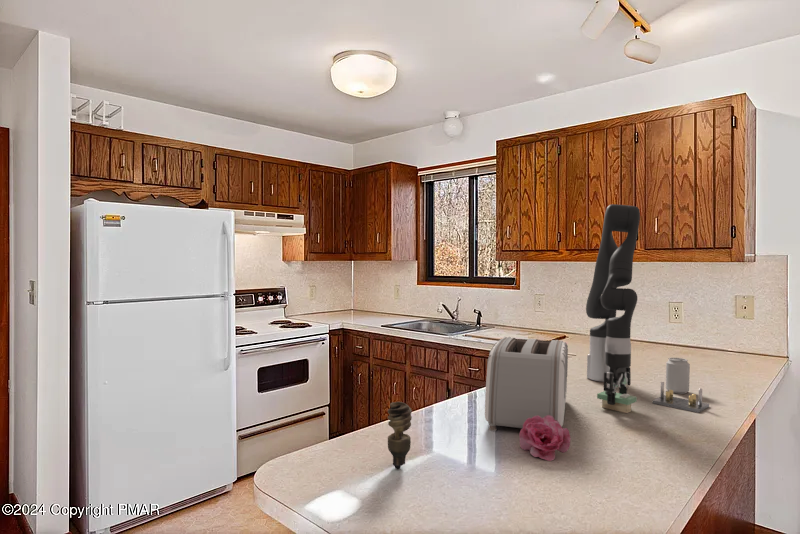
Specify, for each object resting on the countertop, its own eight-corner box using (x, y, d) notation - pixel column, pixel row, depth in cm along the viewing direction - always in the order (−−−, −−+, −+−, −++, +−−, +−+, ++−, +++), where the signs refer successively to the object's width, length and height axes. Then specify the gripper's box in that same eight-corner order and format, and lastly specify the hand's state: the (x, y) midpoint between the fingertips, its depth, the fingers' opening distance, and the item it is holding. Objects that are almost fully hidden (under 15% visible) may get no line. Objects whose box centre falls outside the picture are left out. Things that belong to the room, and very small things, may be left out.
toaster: (567, 397, 180) (568, 332, 179) (563, 440, 137) (564, 356, 137) (504, 391, 187) (505, 329, 186) (482, 431, 144) (483, 350, 144)
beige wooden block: (602, 407, 168) (602, 398, 168) (606, 405, 170) (606, 396, 170) (627, 413, 162) (627, 403, 162) (631, 411, 164) (631, 401, 164)
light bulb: (386, 463, 121) (386, 398, 120) (409, 462, 121) (410, 398, 121) (387, 473, 115) (388, 405, 115) (412, 472, 116) (413, 405, 115)
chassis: (652, 403, 173) (652, 383, 173) (663, 397, 180) (664, 379, 180) (699, 412, 163) (699, 392, 163) (709, 406, 170) (709, 386, 170)
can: (692, 394, 185) (692, 361, 185) (669, 393, 186) (669, 360, 186) (685, 389, 192) (685, 357, 192) (663, 388, 194) (663, 356, 193)
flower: (556, 477, 122) (534, 444, 120) (529, 464, 131) (508, 434, 129) (585, 443, 126) (565, 411, 124) (557, 433, 135) (538, 403, 133)
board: (597, 398, 167) (597, 391, 167) (605, 395, 172) (605, 388, 172) (628, 405, 160) (628, 397, 160) (636, 401, 164) (636, 394, 164)
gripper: (616, 347, 173) (615, 395, 173) (596, 352, 163) (595, 403, 163) (639, 350, 168) (638, 400, 168) (620, 355, 158) (619, 408, 158)
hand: (617, 402), depth 166 cm, fingers open, 8 cm apart
